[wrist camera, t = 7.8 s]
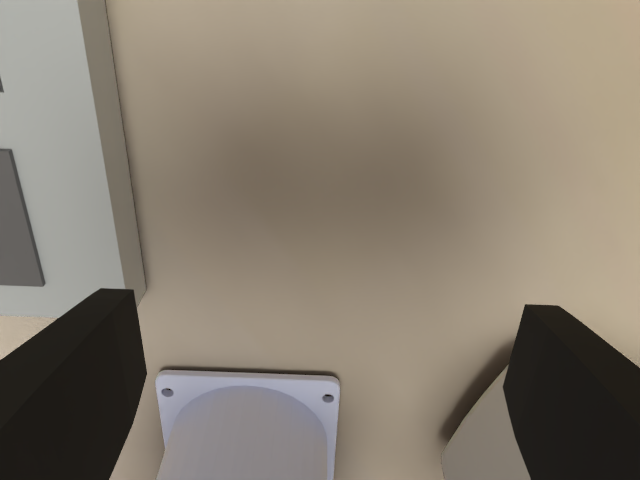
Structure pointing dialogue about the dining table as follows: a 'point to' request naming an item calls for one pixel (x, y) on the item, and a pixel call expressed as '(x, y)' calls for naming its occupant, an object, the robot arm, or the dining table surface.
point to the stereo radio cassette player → (485, 442)
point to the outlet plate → (62, 161)
